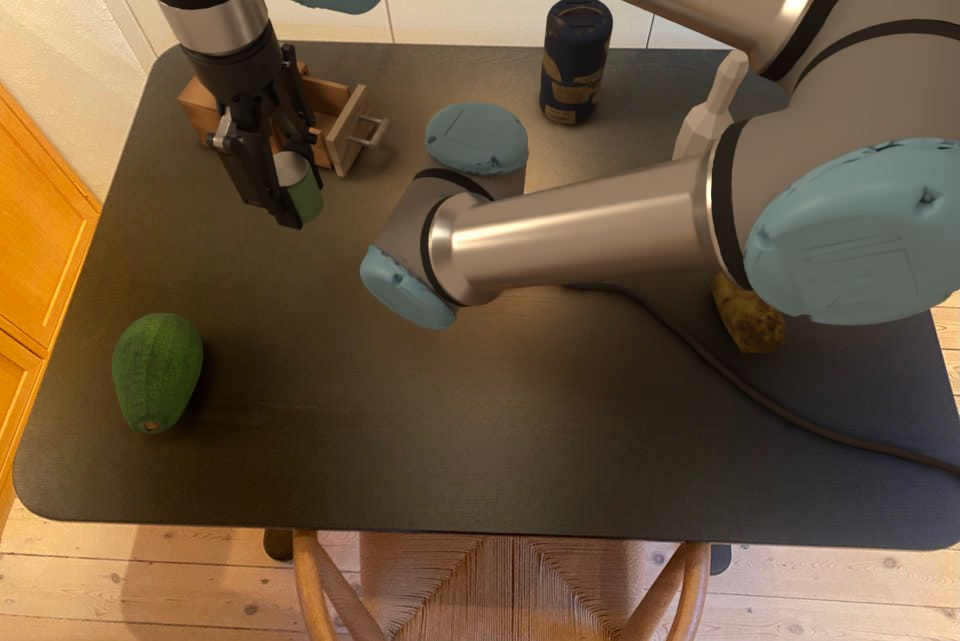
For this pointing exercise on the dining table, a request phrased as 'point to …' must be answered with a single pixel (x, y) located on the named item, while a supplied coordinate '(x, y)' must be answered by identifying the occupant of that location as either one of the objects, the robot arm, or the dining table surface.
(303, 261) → the dining table surface
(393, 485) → the dining table surface
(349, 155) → the drawer
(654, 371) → the dining table surface
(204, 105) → the cabinet
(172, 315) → the fruit
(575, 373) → the dining table surface
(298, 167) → the can
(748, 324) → the potato
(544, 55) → the canister
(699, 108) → the bowling pin
